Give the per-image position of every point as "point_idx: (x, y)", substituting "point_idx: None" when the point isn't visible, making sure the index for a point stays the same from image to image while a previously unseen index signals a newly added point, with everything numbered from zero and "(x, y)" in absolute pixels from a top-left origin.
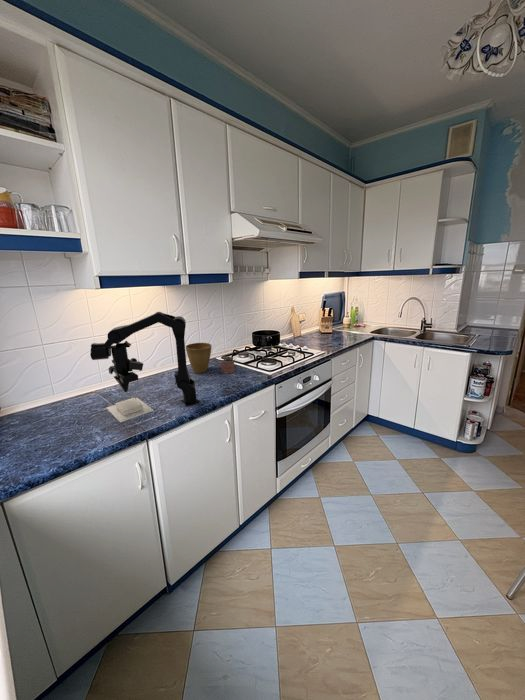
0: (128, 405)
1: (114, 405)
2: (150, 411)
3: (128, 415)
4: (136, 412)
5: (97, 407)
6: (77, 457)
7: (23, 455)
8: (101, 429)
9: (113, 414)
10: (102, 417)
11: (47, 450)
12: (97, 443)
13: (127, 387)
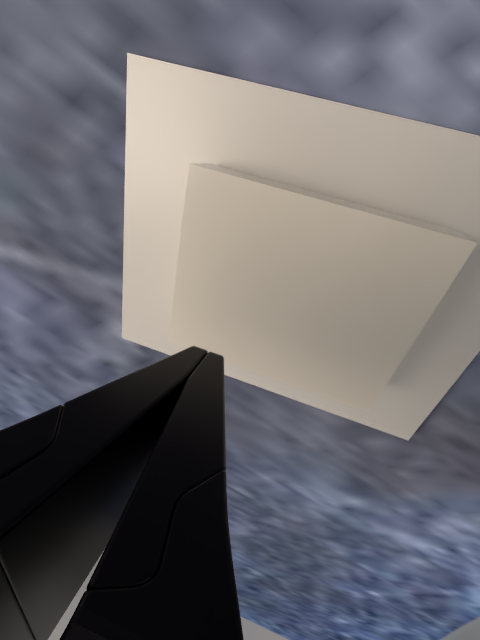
0: (316, 327)
1: (131, 293)
2: None
3: None
4: None
5: (70, 339)
6: (447, 621)
7: (249, 602)
8: (345, 489)
9: (259, 383)
10: None
11: (287, 590)
12: (447, 566)
13: (223, 424)
